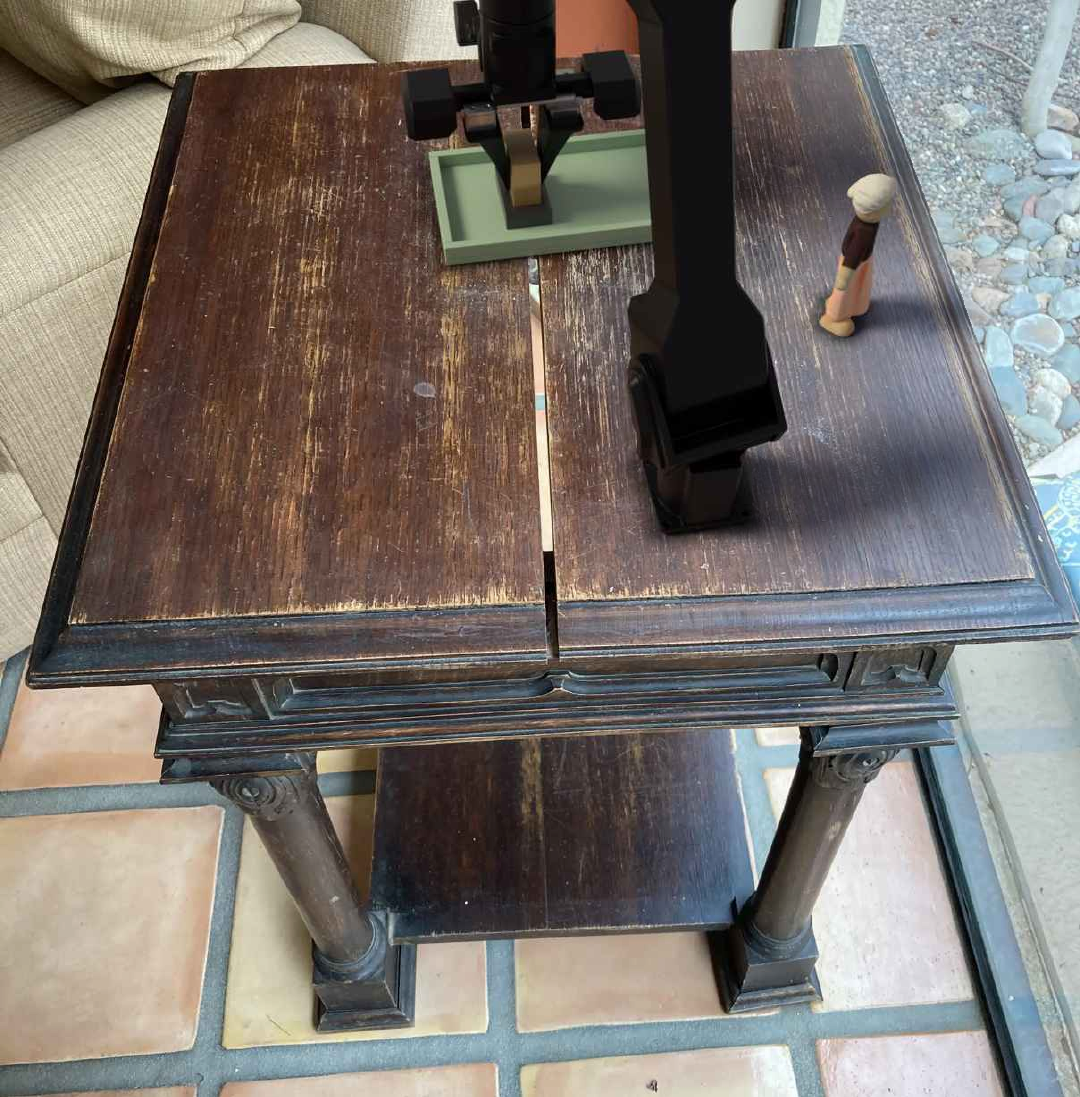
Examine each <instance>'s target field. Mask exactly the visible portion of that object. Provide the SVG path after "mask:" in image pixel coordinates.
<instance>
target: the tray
mask: <svg viewBox="0 0 1080 1097" xmlns="http://www.w3.org/2000/svg"><path fill="white" fill-rule="evenodd" d="M534 141H535V145H536V142H537V139H535V140H534ZM428 158H429V168H430V175H431V180H432V186H433V194H434V199H435V205H436V212H437V219H438V224H439V230H440V236H441V243H442V249H443V255H444V260H445V266H455V265H464V264H471V263H472V264H473V263H480V262H481V263H482V262H490V261H498V260H507V259H515V258H525V257H533V256H542V255H550V254H558V253H566V252H567V253H568V252H575V251H583V250H593V249H601V248H609V247H617V246H618V247H619V246H627V245H636V244H645V243H652V229H651V214H650V200H649V185H648V171H647V156H646V141H645V128H639V129H630V130H620V131H610V132H601V133H591V134H583V135H573V136H570V138H569V139H568V141H567V142H566V144H565V145H564V146H563V148H562V149H561V151H560V152H559V154H558V155H557V157H556V159H555V161H554V163H553V165H552V167H551V169H550V171H549V173H548V175H547V177H546V179H545V185H546V189H547V192H548V196H549V200H550V203H551V207H552V224H551V225H542V226H534V227H525V228H517V229H508V230H507V229H506V224H505V220H504V216H503V211H502V207H501V202H500V198H499V194H498V189H497V185H496V181H495V165H494V164H493V162H492V160H491V159H490V157H489V156H488V155H487V153H486V152H485V150H484V149H483V148H482V146H481V145H480V146H472V147H461V148H453V149H452V148H451V149H444V150H437V151H436V150H435V151H428Z"/></svg>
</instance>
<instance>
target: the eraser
mask: <svg viewBox="0 0 1080 1097" xmlns="http://www.w3.org/2000/svg"><path fill="white" fill-rule="evenodd" d="M502 134H503V140H504V145H505V150H506V155H507V161H508V166H509V171H510V190H506V189H505V187H504V185H503V182H502V180H501V178H500V176H499V174H498V172H497V170H496V167H495V181H496V185H497V189H498V194H499V198H500V202H501V207H502V211H503V216H504V220H505V224H506V229H507V230H508V229H517V228H525V227H534V226H542V225H551V224H552V207H551V203H550V200H549V196H548V192H547V189H546V185H545V181H544V183H543V185H542V186H541V163H540V159H539V156H538V152H537V148H536V145H535V141H536V140H535V138H534V134H533V131H532V128H531V127H529V128H528V127H527V128H522V129H512V130H503V131H502Z"/></svg>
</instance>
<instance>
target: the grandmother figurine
mask: <svg viewBox="0 0 1080 1097" xmlns="http://www.w3.org/2000/svg"><path fill="white" fill-rule="evenodd" d="M898 186H899V184H898V182H897V180H896V179H895V178H894V177H891V176H889V175H887V174H883V173H873V174H868V175H866V176H864V177H862V178H859V179H858V180H857V181H856V182H854V183H853V184H852V185H851V186H850V187H849V189H848V190H847V193H846V194H847V197H848V198H849V199H852V206H853V207H854V211H855V215H854V217H853V218H852V220H851V221H850V224H849V226H848V228H847V230H846V233H845V235H844V236H843V240H842V242H841V249H840V251H841V253H840V255H839V259H838V260H839V262H838V266H837V267H838V268H837V275H836V279H835V282H834V288H833V291H832V294H831V295H830V296H829V297H828V298H827V299H826V300H825V303H824V307H825V309H826V310H825V313H824V314H823V315H822V316H821V318H820V319H819V325H820V326H821V327H822V328H823V329H825V330H826V331H828V332H830V333H832V334H834V335H835V336H838V337H843V338H844V337H848V336H850V335H852V333H853V332H854V331H855V324H854V321H853V320H852V319H851V318H852V317H853V316H862V315H864V314H865V313H867V311H868V310H869V305H870V301H871V295H872V289H873V288H872V287H873V272H874V248H875V244H876V239H877V235H878V232H879V229H880V224H881V221H883V220H884V219H885V218H886V217H887V216H888V215H889V213H890V212H891V209H892V206H893V199H892V197H894V194H896V193H897V190H898Z"/></svg>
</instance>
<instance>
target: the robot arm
mask: <svg viewBox="0 0 1080 1097" xmlns="http://www.w3.org/2000/svg"><path fill="white" fill-rule="evenodd" d="M737 1H738V0H625V2H626V3H627V5H628V6H629V8H630V9H631V10H632V12H633V13H634V15H635V19H636V24H637V36H638V37H637V38H638V39H637V40H638V52H639V64H640V65H639V67H640V78H639V75H638V73H637V70H636V67H635V65H634V63H633V60H632V57H631V56H630V55H629V54H628V52H626V50H624V49H613V50H605V51H594V52H593V51H592V52H584V53H582V54H581V57H580V63H579V64H580V66H579V70H580V72H575V69H573V68H571V67H569V68H559V69H557V0H478V2H477V1H476V0H453V1H452V7H453V19H454V20H453V21H454V31H455V40H456V43H457V45H458V46H459V47H461V48H462V47H471V46H472V47H473V46H477V47H476V48H477V58H478V59H477V62H478V63H477V64H478V67H479V72H480V73H482V74H483V81H482V82H480V81H479V82H471V83H470V82H469V83H465V84H456V85H452V81H451V76H450V72H449V67H438V68H430V69H429V68H428V69H420V70H412V71H410V70H409V71H405V72H404V74H403V76H402V77H401V79H400V80H399V81H400V89H401V90H400V91H401V97H402V98H401V99H402V105H403V111H404V117H405V125H406V131H407V137H408V139H410V140H413V141H414V142H424V141H432V140H440V139H441V140H442V139H449V138H450V137H451V136H452V135H453V134H454V133H455V132H456V130H457V129H458V119H457V118H458V116H457V113H460V117H461V123H462V127H463V131H464V136H465V141H466V142H467V143H469V144H479V145H480V146H482V148H483V149H484V150H485V152H486V153H487V155H488V156H489V157H490V159H491V160H492V162H493V164H494V165H495V167H496V170H497V172H498V174H499V176H500V178H501V180H502V182H503V185H504V187H505V189H506V190H510V171H509V166H508V161H507V155H506V150H505V145H504V137H503V131H502V126H501V122H500V118H499V113H498V110H504V109H512V108H522V107H531V106H538V120H537V131H536V132H537V133H536V140H537V142H536V148H537V152H538V156H539V159H540V163H541V186H542V185H543V183H544V181H545V179H546V177H547V175H548V173H549V171H550V169H551V167H552V165H553V163H554V161H555V159H556V157H557V155H558V154H559V152H560V151H561V149H562V148H563V146H564V145H565V144H566V142H567V141H568V139H569V138H570V137H572V135H573V134H575V133H581V132H582V131H584V129H585V121H584V117H583V115H582V112H581V107H582V106H583V100H584V99H593V100H592V101H593V102H592V104H593V106H592V110H593V113H594V114H595V115H596V116H598V117H599V119H601V120H602V121H603V122H606V121H607V122H608V121H616V120H625V119H632V118H633V119H634V118H637V116H639V115H640V114H642V113H643V125H644V129H645V141H646V156H647V171H648V185H649V200H650V214H651V229H652V242H651V244H652V257H653V279H652V281H651V283H650V285H649V287H648V289H647V290H646V292H642V293H639V294H635V295H632V296H631V297H630V300H629V302H628V306H627V309H626V312H627V318H628V319H627V320H628V326H629V335H630V347H629V355H630V357H631V358H629V360H628V364H627V368H626V378H627V382H626V387H627V388H626V389H627V392H628V398H629V399H628V400H629V409H630V418H631V423H632V426H633V430H634V431H635V433H636V448H635V453H636V455H637V456H638V458H639V460H642V462H641V468H642V473H643V477H644V480H645V483H646V487H647V491H648V494H649V497H650V501H651V505H652V509H653V513H654V517H655V520H656V523H657V526H658V530H659V532H661V533H663V534H674V533H675V534H676V533H681V532H688V531H696V530H703V529H710V528H711V529H712V528H716V527H725V526H733V525H739V524H747V523H749V522H750V521H751V520H752V517H753V512H752V509H751V506H750V503H749V500H748V497H747V495H746V492H745V491H746V490H745V489H744V486H743V483H742V479H741V478H742V473H743V468H744V464H745V459H746V455H747V451H748V450H749V449H751V448H755V447H757V446H760V445H764V444H767V443H775V442H778V441H779V440H780V439H781V438H782V437H783V436H784V435H785V433H786V432H787V431H788V422H787V418H786V414H785V413H786V412H785V409H784V404H783V400H782V397H781V392H780V389H779V384H778V379H777V375H776V370H775V366H774V361H773V357H772V353H771V349H770V345H769V342H768V339H767V337H766V327H765V326H766V325H765V319H764V315H763V314H762V312H761V311H760V310H759V308H758V307H757V306H756V304H755V303H754V301H753V300H752V299H751V296H749V294H748V293H747V291H746V290H745V289H744V288H743V286H742V285H741V283H740V282H739V280H738V274H737V241H736V239H737V238H736V236H737V235H736V192H735V191H736V190H735V187H736V186H735V185H736V184H735V140H734V139H735V138H734V136H735V133H734V131H735V130H734V87H733V86H734V85H733V84H734V83H733V81H734V79H733V36H732V35H733V31H732V29H733V27H732V25H733V24H732V20H733V19H732V18H733V10H734V7H735V5H736V4H737ZM642 110H643V112H641V111H642ZM744 515H745V516H744Z"/></svg>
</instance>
